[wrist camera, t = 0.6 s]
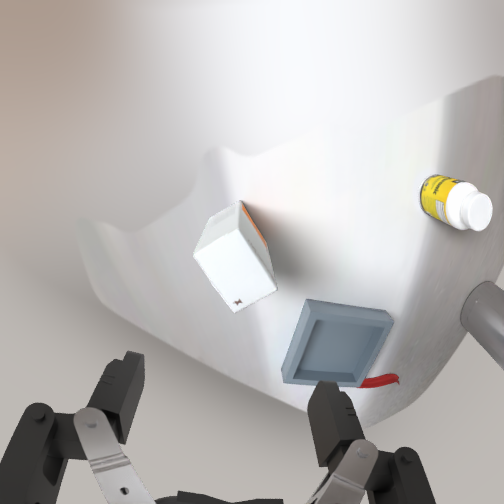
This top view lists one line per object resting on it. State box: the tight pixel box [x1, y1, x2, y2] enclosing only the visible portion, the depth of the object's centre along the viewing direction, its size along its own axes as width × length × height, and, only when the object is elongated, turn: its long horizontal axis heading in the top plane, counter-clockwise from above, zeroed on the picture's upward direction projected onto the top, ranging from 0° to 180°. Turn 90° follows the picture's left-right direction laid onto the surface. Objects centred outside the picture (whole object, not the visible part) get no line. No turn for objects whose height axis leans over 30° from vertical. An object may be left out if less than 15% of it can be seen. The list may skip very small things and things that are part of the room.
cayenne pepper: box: [357, 374, 399, 388], centre depth 43 cm, size 12×5×2 cm, turn 64°
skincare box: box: [193, 200, 278, 313], centre depth 28 cm, size 6×4×12 cm
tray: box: [281, 299, 394, 387], centre depth 38 cm, size 12×12×3 cm
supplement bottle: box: [418, 174, 492, 231], centre depth 28 cm, size 5×5×10 cm
